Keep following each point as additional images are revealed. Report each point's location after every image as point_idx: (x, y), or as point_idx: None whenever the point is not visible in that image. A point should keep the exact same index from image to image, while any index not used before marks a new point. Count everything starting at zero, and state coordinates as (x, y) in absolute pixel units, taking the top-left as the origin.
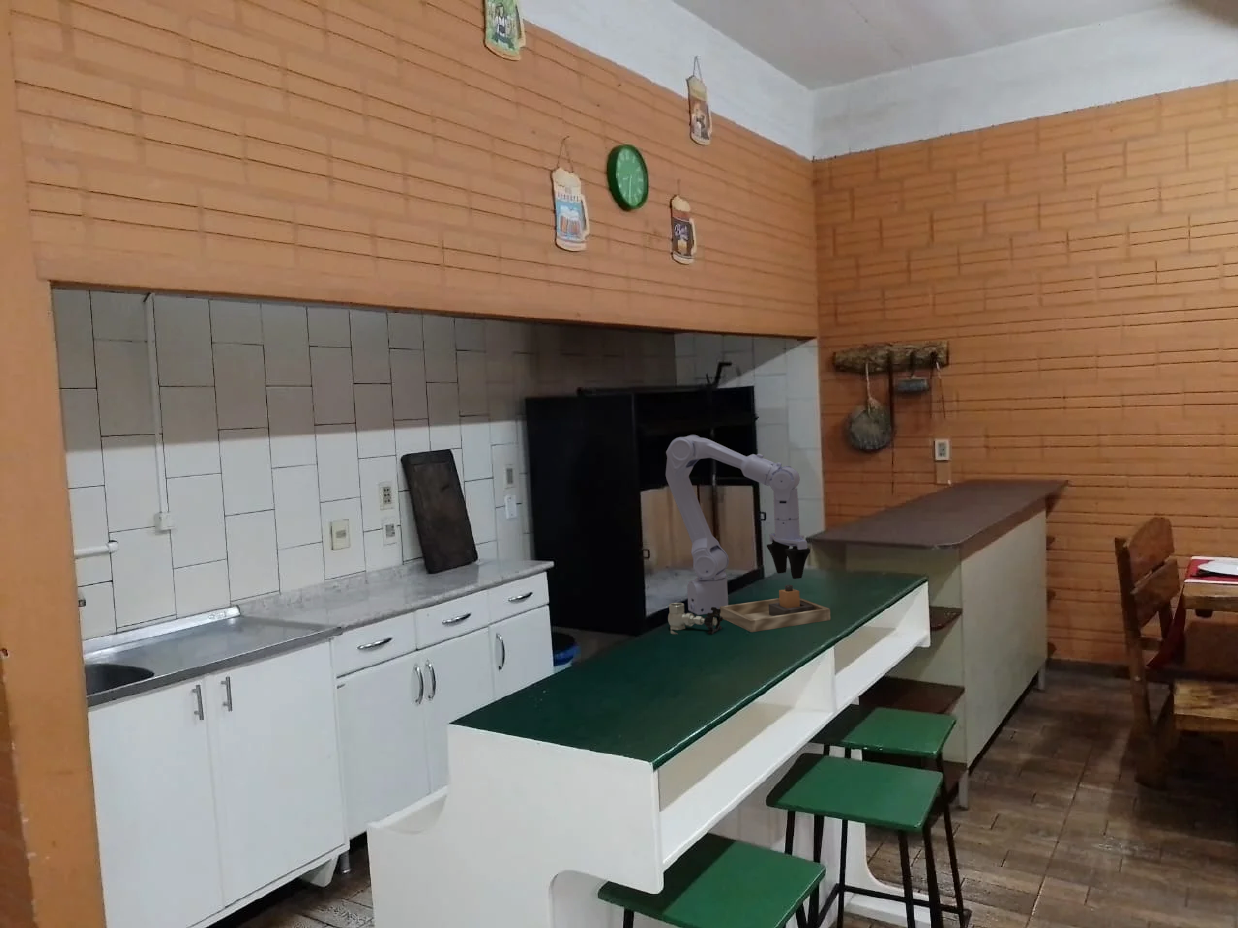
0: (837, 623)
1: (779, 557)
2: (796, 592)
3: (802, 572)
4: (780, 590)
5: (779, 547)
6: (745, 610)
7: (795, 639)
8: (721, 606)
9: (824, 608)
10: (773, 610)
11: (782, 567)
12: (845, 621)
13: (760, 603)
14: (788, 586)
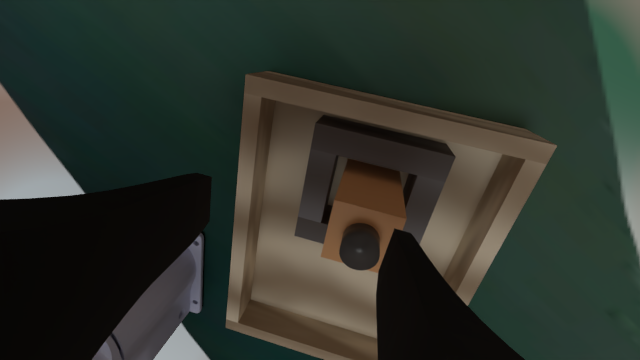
0: (544, 102)
1: (132, 270)
2: (400, 228)
3: (422, 253)
4: (329, 256)
5: (40, 341)
6: (251, 260)
7: (538, 318)
8: (226, 323)
9: (527, 156)
10: None
11: (190, 212)
12: (556, 54)
13: (249, 225)
14: (372, 266)
